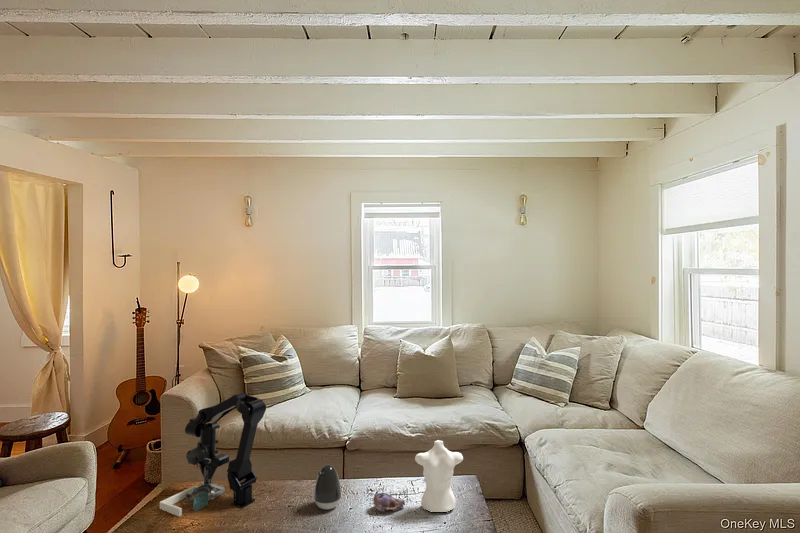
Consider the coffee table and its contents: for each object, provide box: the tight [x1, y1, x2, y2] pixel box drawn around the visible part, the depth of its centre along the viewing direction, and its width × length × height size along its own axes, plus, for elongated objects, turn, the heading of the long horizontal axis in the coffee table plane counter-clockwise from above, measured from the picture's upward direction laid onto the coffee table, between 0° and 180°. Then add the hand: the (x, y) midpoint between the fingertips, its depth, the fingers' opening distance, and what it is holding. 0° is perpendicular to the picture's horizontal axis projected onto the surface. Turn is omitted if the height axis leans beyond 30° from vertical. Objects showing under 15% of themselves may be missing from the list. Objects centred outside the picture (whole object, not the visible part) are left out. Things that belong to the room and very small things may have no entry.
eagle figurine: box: [183, 484, 213, 509], centre depth 166 cm, size 8×7×9 cm
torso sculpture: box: [414, 439, 464, 512], centre depth 164 cm, size 18×10×25 cm, turn 95°
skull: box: [372, 492, 406, 512], centre depth 162 cm, size 12×8×6 cm, turn 96°
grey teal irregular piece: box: [192, 465, 226, 512], centre depth 169 cm, size 13×14×10 cm
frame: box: [159, 484, 215, 517], centre depth 165 cm, size 11×15×2 cm
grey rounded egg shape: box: [313, 464, 342, 511], centre depth 164 cm, size 10×10×15 cm
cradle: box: [212, 484, 226, 499], centre depth 172 cm, size 2×5×3 cm, turn 152°
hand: (207, 478), depth 175 cm, fingers closed on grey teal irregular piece, 3 cm apart
